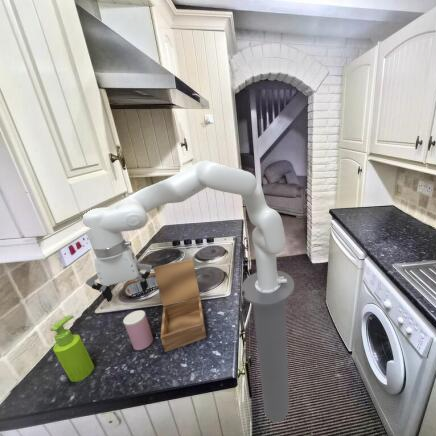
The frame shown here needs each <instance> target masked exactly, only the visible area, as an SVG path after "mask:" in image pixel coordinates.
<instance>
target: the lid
mask: <svg viewBox="0 0 436 436" xmlns="http://www.w3.org/2000/svg"><path fill="white" fill-rule="evenodd" d="M153 271H154V272H153V273H155V276H156V280H157V284H158V288H157V289H158V292H159V296H160V301H161V304H162V307H166V306H169V305H173V304H176V303H180V302H183V301H187V300H190V299H194V298H197V297H201V293H200V289H199V283H198V279H197V273H196V269H195V263H194V259H193V258H189V259H185V260H179V261H174V262H169V263H166V264H162V265H158V266H154V267H153Z"/></svg>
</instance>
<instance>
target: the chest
mask: <svg viewBox="0 0 436 436" xmlns="http://www.w3.org/2000/svg"><path fill="white" fill-rule="evenodd" d="M160 329H161V330H160V342H161V344H162V347H163V351H164V353H167V352H170V351H172V350H176V349H178V348H181V347H184V346H187V345H190V344H192V343H193V344H194V343H196V342H199V341H201V340H204V339H207V331H206V321H205V315H204V308H203V303H202V298H201V296H199V297H195V298H192V299H188V300H185V301H181V302H177V303H174V304H170V305H167V306H162V317H161V327H160Z"/></svg>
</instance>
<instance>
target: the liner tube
mask: <svg viewBox="0 0 436 436" xmlns="http://www.w3.org/2000/svg"><path fill="white" fill-rule="evenodd" d="M122 323H123V325H124V327H125V330H126V332H127V335H128V337H129V340H130V343H131V345H132V348H133V350H135V351H141V350H145V349H146V348H148V347H150V345H151V344H153V341H154V336H153V333H152V330H151V327H150V324H149V320H148V318H147V316H146V311H144V310H142V309H140V310H134V311H132V312H129V313H128V314H127V315H126V316H125V317H124V318H123V321H122Z"/></svg>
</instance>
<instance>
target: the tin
mask: <svg viewBox="0 0 436 436" xmlns="http://www.w3.org/2000/svg"><path fill="white" fill-rule="evenodd" d="M146 280H147V283H148V288H147V289H149V288H152V287H155V286H158V284H157V280H156V276H155V272H150V275H149V276H148V277H147V279H146ZM156 289H159V288H158V287H156V288H153V290H152V289H151V291H148V292H147V291H146V292H143V294H147V293H149V292H152V291H155V290H156ZM122 291H123V293H124V295H125V296H127V297H130V296H131V295H132V294H135V293H138V292H141V291H142V288H141V285H140V281H139V280H137V279H133V280H129V281H125V282H124V284H123V286H122ZM139 294H140V293H139ZM139 294H138V295H137V296H136V295H133V296H131V298H132V297H134V298H135V297H138V296H140V295H142V294H140V295H139Z"/></svg>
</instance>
